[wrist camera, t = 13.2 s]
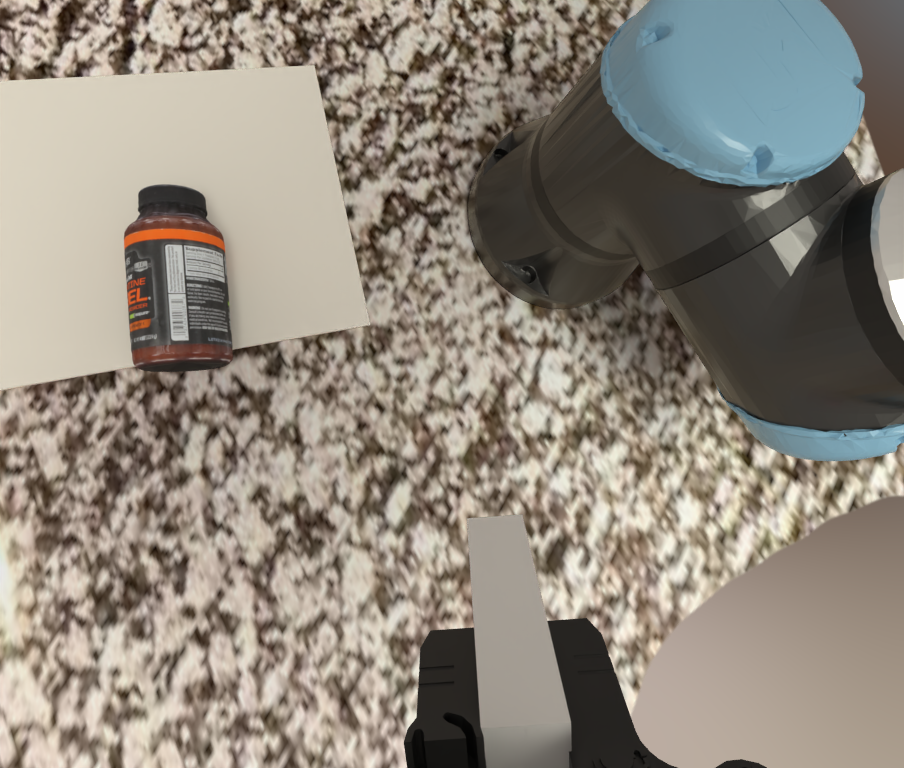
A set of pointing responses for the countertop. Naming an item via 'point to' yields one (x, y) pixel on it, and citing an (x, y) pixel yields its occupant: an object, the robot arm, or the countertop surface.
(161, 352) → the supplement bottle
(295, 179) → the mat
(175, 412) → the countertop surface
